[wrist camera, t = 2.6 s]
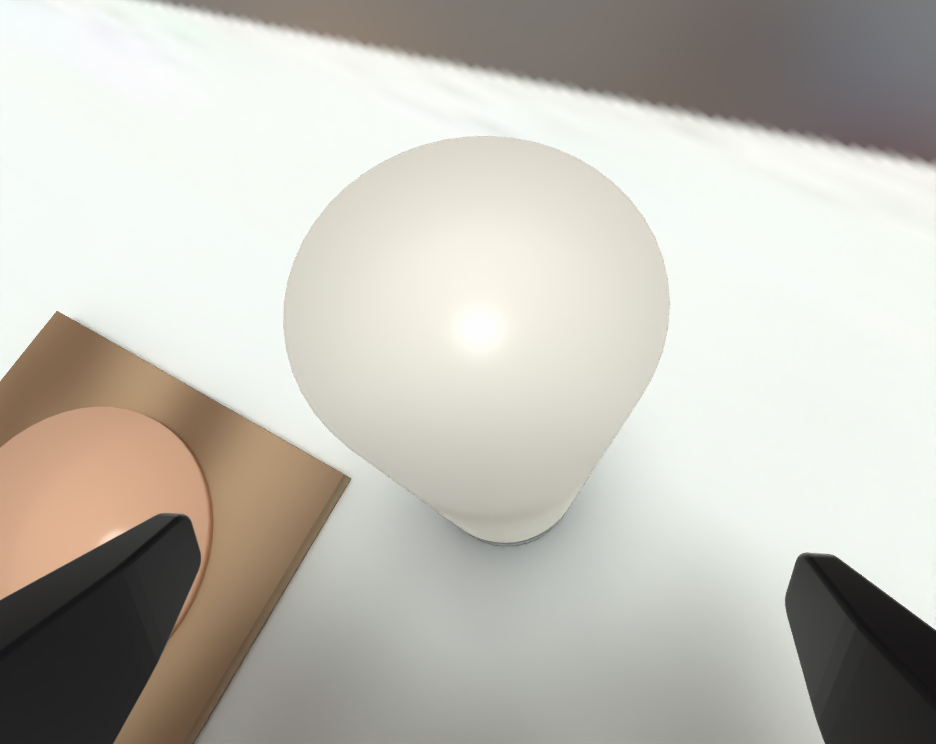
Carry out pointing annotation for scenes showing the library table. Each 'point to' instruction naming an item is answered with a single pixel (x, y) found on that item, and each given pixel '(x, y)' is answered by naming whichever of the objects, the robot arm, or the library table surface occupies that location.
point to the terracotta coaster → (93, 490)
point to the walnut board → (233, 503)
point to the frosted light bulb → (479, 326)
